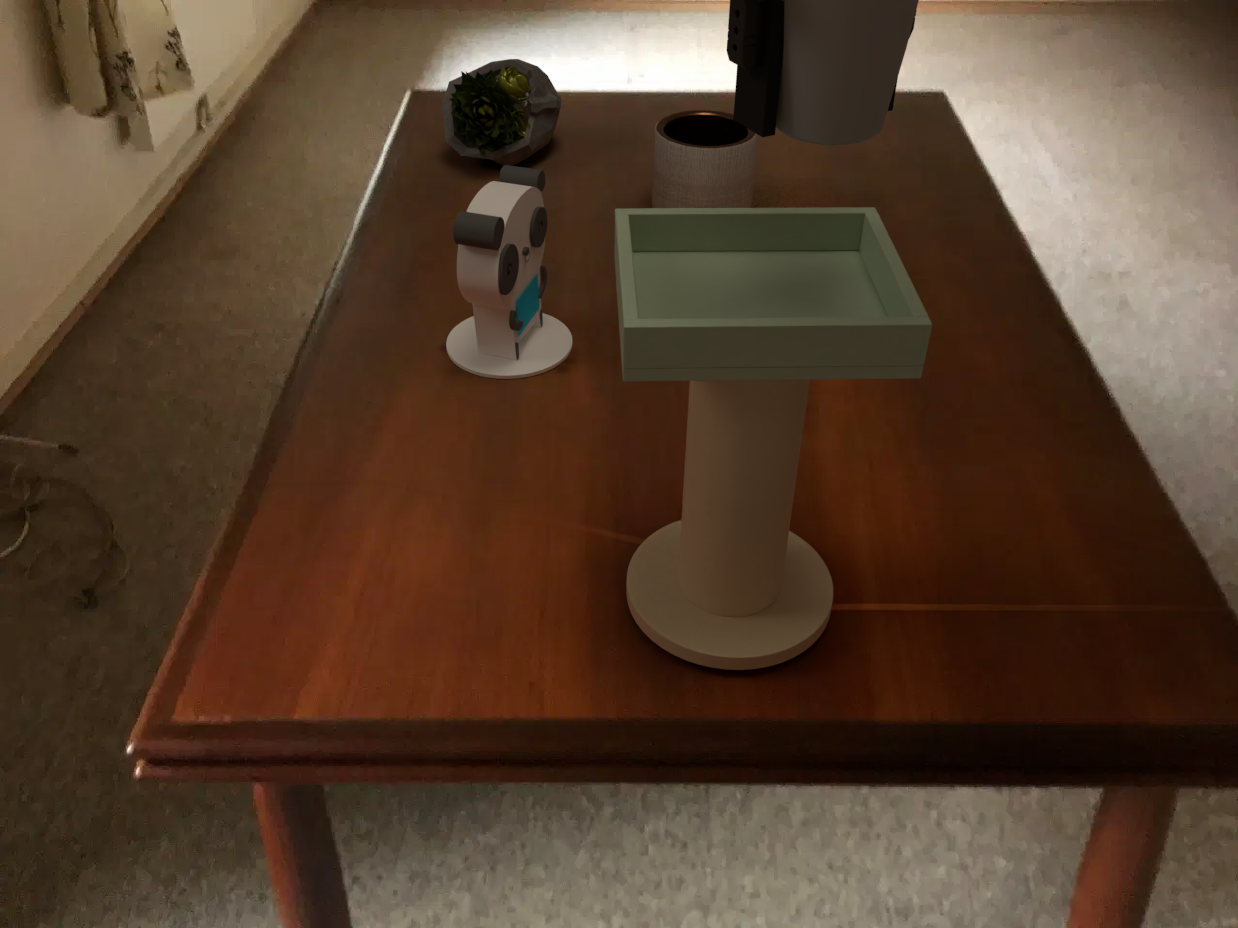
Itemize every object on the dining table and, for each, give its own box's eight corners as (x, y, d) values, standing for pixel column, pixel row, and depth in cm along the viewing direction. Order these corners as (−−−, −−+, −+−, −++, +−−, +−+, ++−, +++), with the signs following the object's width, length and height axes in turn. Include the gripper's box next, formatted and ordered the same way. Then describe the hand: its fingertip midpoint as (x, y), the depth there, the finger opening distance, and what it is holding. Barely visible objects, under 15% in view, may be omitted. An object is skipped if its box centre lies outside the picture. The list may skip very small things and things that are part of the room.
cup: (760, 154, 56) (776, -30, 51) (742, 85, 64) (754, -80, 59) (915, 155, 56) (946, -28, 51) (877, 86, 64) (901, -79, 59)
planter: (703, 184, 131) (708, 101, 125) (771, 216, 124) (780, 131, 118) (630, 209, 125) (632, 124, 119) (697, 245, 119) (703, 157, 113)
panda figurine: (543, 393, 97) (538, 232, 88) (422, 369, 100) (404, 210, 90) (589, 323, 106) (588, 171, 97) (476, 304, 109) (465, 153, 99)
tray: (823, 524, 84) (874, 205, 68) (862, 668, 73) (934, 326, 57) (611, 527, 83) (614, 206, 68) (618, 672, 72) (624, 329, 57)
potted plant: (584, 116, 138) (559, 128, 124) (505, 181, 142) (472, 200, 128) (522, 32, 135) (489, 34, 121) (443, 100, 140) (403, 110, 126)
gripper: (998, -441, 52) (913, 65, 66) (618, -451, 44) (613, 123, 58) (1128, -443, 47) (1006, 107, 61) (721, -455, 39) (689, 176, 53)
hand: (813, 114), depth 60 cm, fingers closed on cup, 7 cm apart
